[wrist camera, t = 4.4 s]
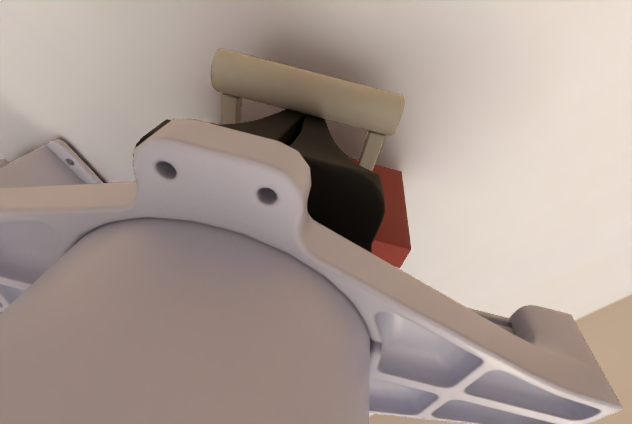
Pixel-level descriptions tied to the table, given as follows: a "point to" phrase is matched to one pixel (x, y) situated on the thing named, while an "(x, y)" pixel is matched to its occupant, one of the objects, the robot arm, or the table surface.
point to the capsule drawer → (332, 104)
